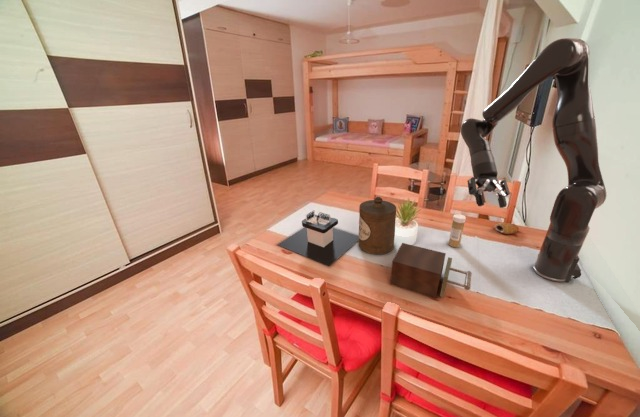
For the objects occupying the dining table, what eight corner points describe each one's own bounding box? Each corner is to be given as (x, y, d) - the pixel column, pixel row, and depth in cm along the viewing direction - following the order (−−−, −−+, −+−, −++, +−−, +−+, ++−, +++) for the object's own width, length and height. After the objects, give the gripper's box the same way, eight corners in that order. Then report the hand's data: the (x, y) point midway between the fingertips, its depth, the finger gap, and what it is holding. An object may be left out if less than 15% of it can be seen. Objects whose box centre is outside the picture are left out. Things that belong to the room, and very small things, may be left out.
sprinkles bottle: (462, 245, 110) (468, 216, 104) (455, 249, 107) (462, 219, 102) (451, 240, 113) (457, 212, 108) (445, 244, 111) (451, 215, 105)
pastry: (509, 226, 123) (511, 218, 121) (522, 233, 117) (524, 225, 115) (492, 228, 121) (494, 221, 120) (504, 235, 115) (506, 228, 114)
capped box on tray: (362, 237, 119) (363, 210, 113) (329, 266, 100) (328, 236, 94) (313, 221, 134) (312, 197, 129) (277, 244, 115) (273, 217, 110)
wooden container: (357, 236, 120) (358, 191, 111) (390, 236, 119) (393, 190, 110) (359, 254, 106) (361, 205, 97) (396, 255, 105) (401, 205, 96)
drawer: (468, 282, 88) (473, 263, 85) (466, 304, 79) (471, 284, 76) (408, 265, 97) (410, 247, 94) (400, 284, 88) (402, 265, 85)
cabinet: (441, 275, 93) (445, 253, 89) (435, 298, 83) (440, 274, 79) (400, 264, 100) (402, 242, 96) (390, 284, 90) (392, 261, 86)
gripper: (472, 159, 94) (481, 201, 88) (508, 162, 95) (519, 204, 90) (459, 169, 101) (466, 208, 95) (493, 171, 102) (502, 210, 97)
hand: (492, 206), depth 93 cm, fingers open, 8 cm apart
